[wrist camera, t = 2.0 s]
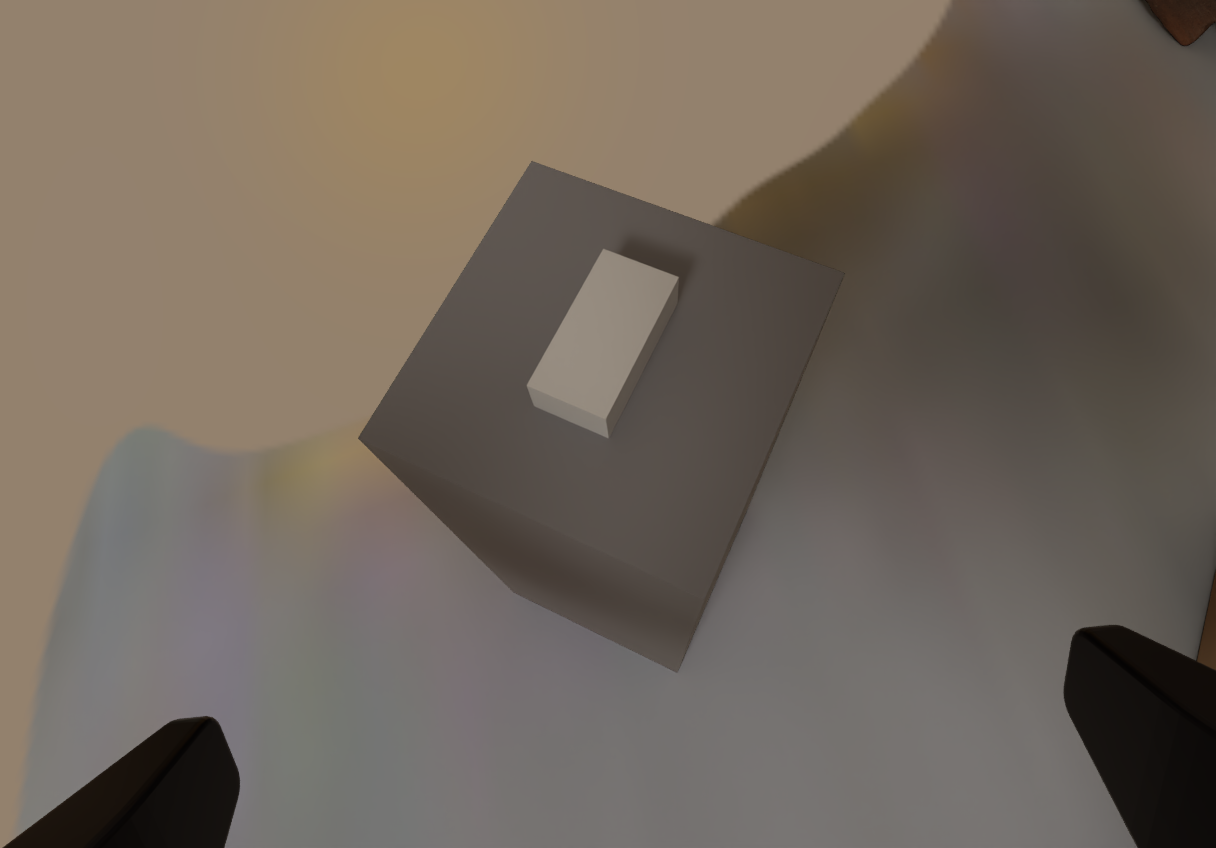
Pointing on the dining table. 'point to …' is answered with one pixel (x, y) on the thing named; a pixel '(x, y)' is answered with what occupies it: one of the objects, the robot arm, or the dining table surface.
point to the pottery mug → (1185, 17)
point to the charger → (604, 402)
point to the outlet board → (1209, 633)
